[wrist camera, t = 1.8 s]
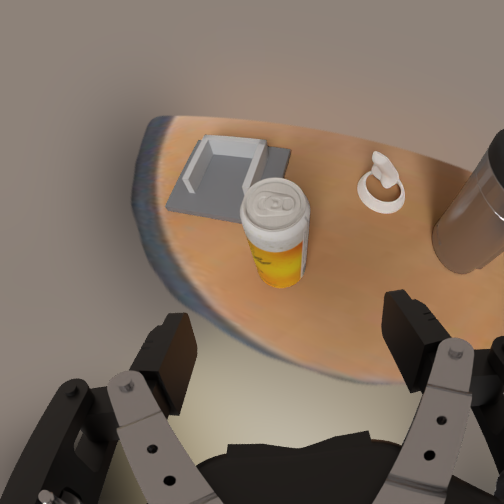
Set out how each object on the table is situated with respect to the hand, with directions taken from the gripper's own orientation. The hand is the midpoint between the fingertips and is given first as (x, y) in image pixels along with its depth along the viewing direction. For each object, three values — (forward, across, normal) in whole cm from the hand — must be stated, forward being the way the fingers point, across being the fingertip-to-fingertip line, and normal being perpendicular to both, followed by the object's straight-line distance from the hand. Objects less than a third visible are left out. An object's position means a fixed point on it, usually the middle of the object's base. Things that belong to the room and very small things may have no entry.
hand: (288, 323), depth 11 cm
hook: (+32, -16, +2) cm, 36 cm away
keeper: (+36, +6, -2) cm, 36 cm away
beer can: (+25, 0, +9) cm, 27 cm away
